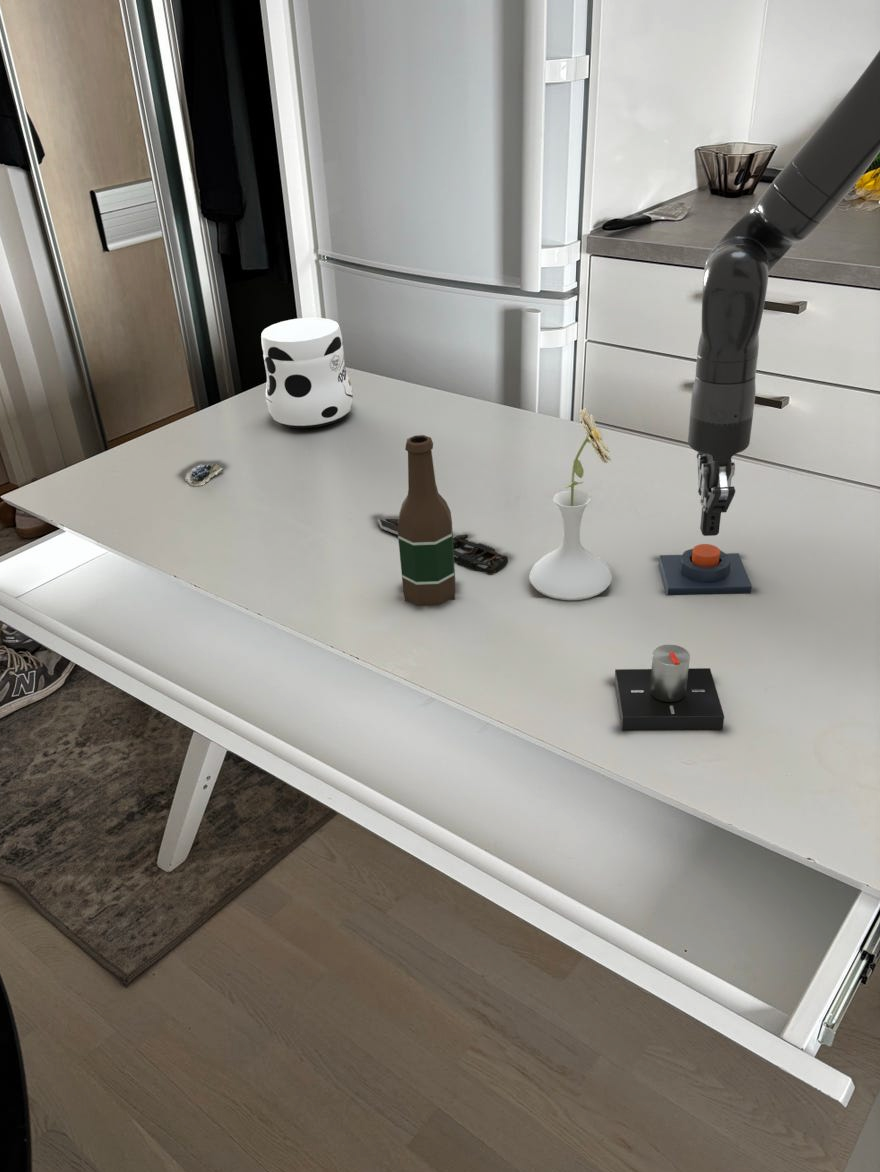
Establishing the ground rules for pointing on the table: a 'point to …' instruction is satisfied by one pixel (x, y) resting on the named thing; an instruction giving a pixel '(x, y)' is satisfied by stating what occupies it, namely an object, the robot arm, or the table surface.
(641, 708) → the hob panel
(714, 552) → the button
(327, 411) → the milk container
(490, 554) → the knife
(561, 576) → the flower in vase
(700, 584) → the button block
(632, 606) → the table surface
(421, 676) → the table surface
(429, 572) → the beer bottle
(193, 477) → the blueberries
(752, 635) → the table surface
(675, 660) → the hob knob
